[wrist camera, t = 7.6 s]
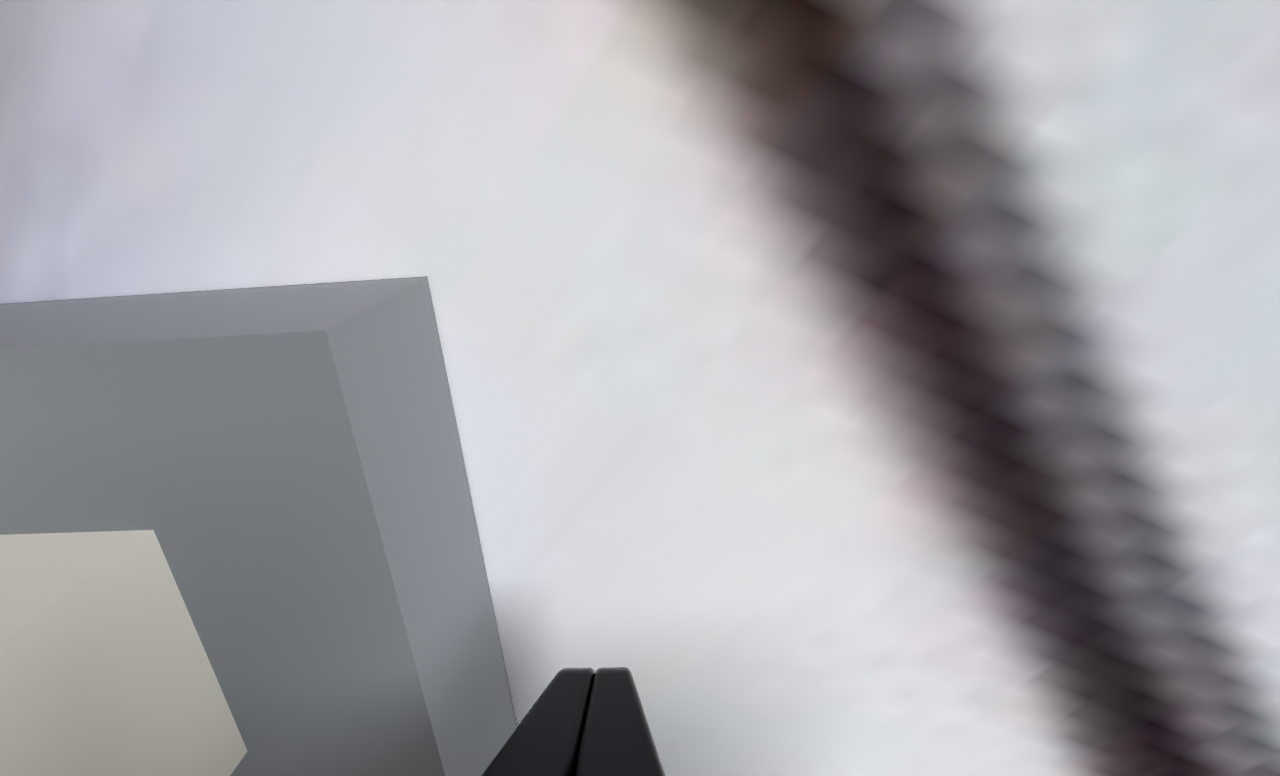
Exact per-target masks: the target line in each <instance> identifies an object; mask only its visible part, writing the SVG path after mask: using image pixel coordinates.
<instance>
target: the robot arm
mask: <svg viewBox="0 0 1280 776" xmlns="http://www.w3.org/2000/svg"><path fill="white" fill-rule="evenodd" d="M481 776H665V775H664V772H663V769H662V766H661V762H660V759H659V756H658V753H657V750H656V747H655V744H654V741H653V738H652V735H651V732H650V729H649V726H648V723H647V720H646V717H645V714H644V711H643V708H642V705H641V702H640V699H639V696H638V692H637V689H636V686H635V683H634V680H633V677H632V674H631V672H630V670H629V669H628V668H624V667H619V668H599V669H598V670H597V671H596V673H595V671H594V670H593V669H591V668H564V669H562V670H560V671H559V672H558V673H557V675H556V676H555V677H554V679H553V680H552V681H551V683H550V684H549V685H548V687H547V688H546V689H545V691H544V692H543V693H542V695H541V696H540V697H539V699H538V700H537V701H536V703H535V704H534V705H533V707H532V708H531V709H530V711H529V712H528V713H527V715H526V716H525V717H524V719H523V720H522V722H521V723H520V724H519V726H518V727H517V728H516V730H515V731H514V732H513V734H512V735H511V736H510V738H509V739H508V740H507V742H506V743H505V744H504V746H503V747H502V748H501V750H500V751H499V752H498V754H497V755H496V756H495V758H494V759H493V760H492V762H491V763H490V764H489V766H488V767H487V768H486V770H485V771H484V773H483V774H482V775H481Z"/></svg>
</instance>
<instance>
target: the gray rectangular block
mask: <svg viewBox="0 0 1280 776" xmlns="http://www.w3.org/2000/svg"><path fill="white" fill-rule="evenodd" d="M130 530H154V532H155V535H156V537H157V539H158V542H159V544H160V546H161V549H162V551H163V553H164V556H165V558H166V560H167V563H168V565H169V568H170V570H171V572H172V575H173V577H174V579H175V582H176V584H177V586H178V589H179V591H180V593H181V596H182V598H183V600H184V603H185V605H186V607H187V610H188V612H189V615H190V617H191V619H192V622H193V624H194V626H195V629H196V631H197V633H198V636H199V638H200V640H201V643H202V645H203V647H204V650H205V652H206V654H207V657H208V659H209V662H210V664H211V666H212V669H213V671H214V673H215V676H216V678H217V680H218V683H219V685H220V687H221V690H222V692H223V694H224V697H225V699H226V701H227V704H228V706H229V709H230V711H231V713H232V716H233V718H234V720H235V723H236V725H237V727H238V730H239V732H240V734H241V737H242V739H243V741H244V744H245V746H246V748H247V753H246V754H245V756H244V757H243V758H242V760H241V761H240V763H239V764H238V765H237V767H236V768H235V770H234V771H233V773H232V774H231V775H230V776H481V775H482V774H483V773H484V771H485V770H486V768H487V767H488V766H489V764H490V763H491V762H492V760H493V759H494V758H495V756H496V755H497V754H498V752H499V751H500V750H501V748H502V747H503V746H504V744H505V743H506V742H507V740H508V739H509V738H510V736H511V735H512V734H513V732H514V731H515V730H516V728H517V725H516V720H515V715H514V710H513V705H512V700H511V695H510V690H509V685H508V680H507V675H506V670H505V665H504V660H503V655H502V650H501V645H500V640H499V635H498V630H497V625H496V619H495V614H494V609H493V604H492V599H491V594H490V589H489V584H488V579H487V574H486V569H485V564H484V559H483V554H482V549H481V544H480V539H479V534H478V529H477V524H476V519H475V514H474V509H473V504H472V499H471V494H470V489H469V484H468V479H467V474H466V469H465V464H464V459H463V454H462V449H461V444H460V439H459V434H458V429H457V424H456V419H455V414H454V409H453V404H452V399H451V394H450V389H449V384H448V379H447V374H446V369H445V364H444V359H443V354H442V349H441V344H440V339H439V334H438V329H437V324H436V319H435V314H434V309H433V304H432V299H431V294H430V289H429V284H428V279H427V277H412V278H397V279H381V280H366V281H350V282H335V283H319V284H303V285H288V286H272V287H257V288H241V289H225V290H210V291H194V292H179V293H163V294H148V295H132V296H116V297H101V298H85V299H70V300H54V301H38V302H23V303H7V304H0V535H10V534H40V533H70V532H100V531H130Z"/></svg>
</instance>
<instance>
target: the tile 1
mask: <svg viewBox="0 0 1280 776" xmlns="http://www.w3.org/2000/svg"><path fill="white" fill-rule="evenodd" d="M246 753H247V748H246V746H245V744H244V741H243V739H242V737H241V734H240V732H239V730H238V727H237V725H236V723H235V720H234V718H233V716H232V713H231V711H230V709H229V706H228V704H227V701H226V699H225V697H224V694H223V692H222V690H221V687H220V685H219V683H218V680H217V678H216V676H215V673H214V671H213V669H212V666H211V664H210V662H209V659H208V657H207V654H206V652H205V650H204V647H203V645H202V643H201V640H200V638H199V636H198V633H197V631H196V629H195V626H194V624H193V622H192V619H191V617H190V615H189V612H188V610H187V607H186V605H185V603H184V600H183V598H182V596H181V593H180V591H179V589H178V586H177V584H176V582H175V579H174V577H173V575H172V572H171V570H170V568H169V565H168V563H167V560H166V558H165V556H164V553H163V551H162V549H161V546H160V544H159V542H158V539H157V537H156V535H155V532H154V530H130V531H100V532H70V533H40V534H10V535H0V776H230V775H231V774H232V773H233V771H234V770H235V768H236V767H237V765H238V764H239V763H240V761H241V760H242V758H243V757H244V756H245V754H246Z"/></svg>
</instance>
